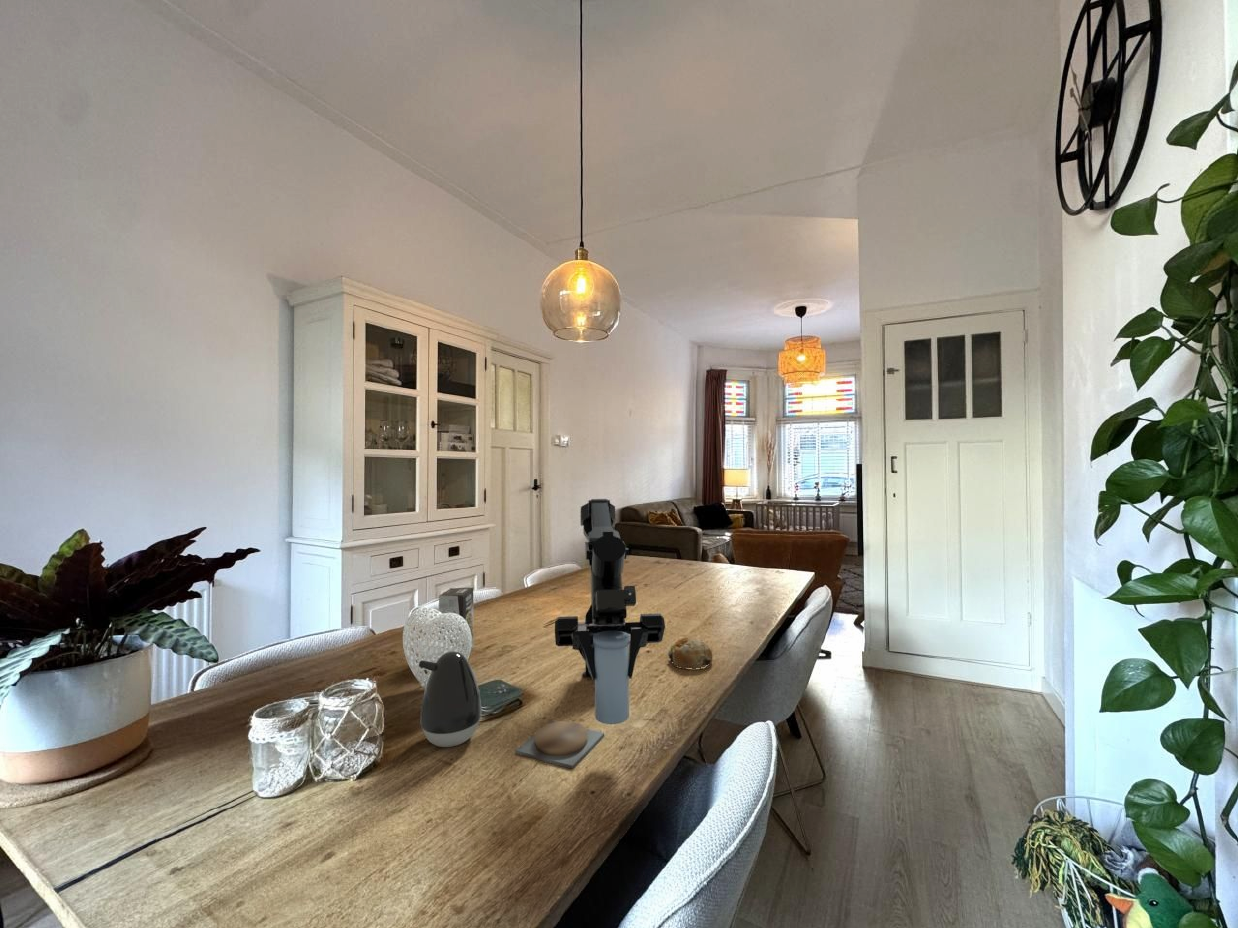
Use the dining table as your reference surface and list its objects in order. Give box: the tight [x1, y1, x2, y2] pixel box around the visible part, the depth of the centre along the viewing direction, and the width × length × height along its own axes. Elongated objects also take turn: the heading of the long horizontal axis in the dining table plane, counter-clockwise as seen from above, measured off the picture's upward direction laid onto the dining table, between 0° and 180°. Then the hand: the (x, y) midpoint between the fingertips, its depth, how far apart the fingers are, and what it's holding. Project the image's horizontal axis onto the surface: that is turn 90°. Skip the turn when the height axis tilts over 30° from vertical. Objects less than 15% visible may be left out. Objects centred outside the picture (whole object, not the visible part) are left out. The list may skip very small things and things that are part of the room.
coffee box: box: [438, 587, 475, 651], centre depth 132 cm, size 9×6×16 cm
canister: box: [593, 631, 630, 725], centre depth 84 cm, size 6×6×13 cm
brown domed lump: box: [667, 636, 713, 669], centre depth 124 cm, size 10×10×8 cm
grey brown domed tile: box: [515, 720, 605, 770], centre depth 87 cm, size 11×11×2 cm
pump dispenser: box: [419, 651, 483, 748], centre depth 89 cm, size 10×10×15 cm
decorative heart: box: [402, 606, 472, 689], centre depth 109 cm, size 18×11×17 cm, turn 56°
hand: (612, 678), depth 83 cm, fingers closed on canister, 6 cm apart
